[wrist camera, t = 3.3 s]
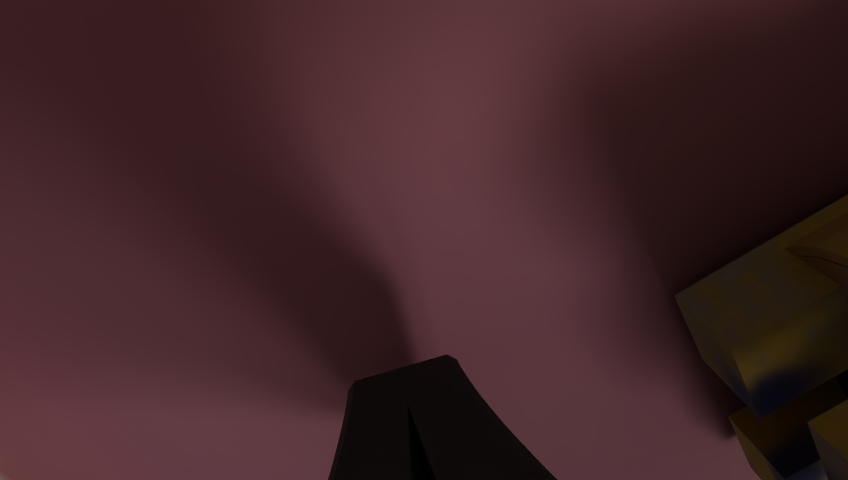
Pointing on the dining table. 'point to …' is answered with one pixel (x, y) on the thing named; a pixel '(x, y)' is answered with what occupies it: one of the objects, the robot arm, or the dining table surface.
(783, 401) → the pipe connector
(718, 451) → the dining table surface
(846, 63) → the dining table surface
